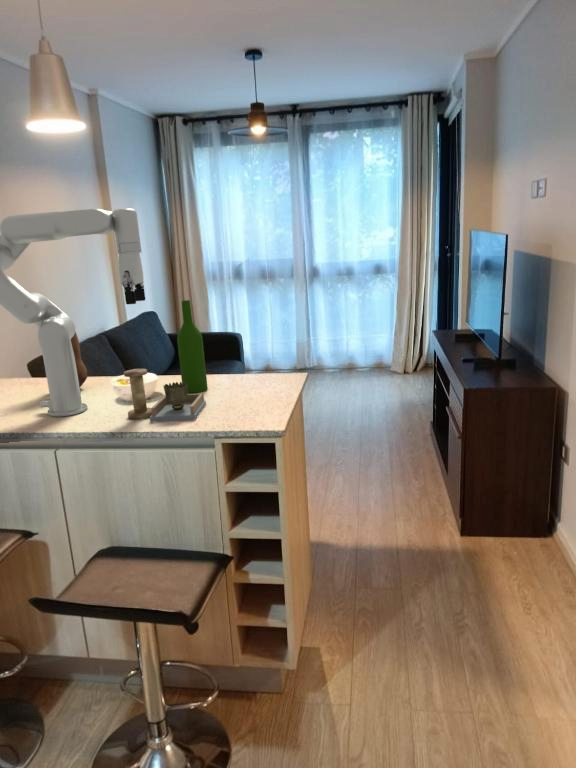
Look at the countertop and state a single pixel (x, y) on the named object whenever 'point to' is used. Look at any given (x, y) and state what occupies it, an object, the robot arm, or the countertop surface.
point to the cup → (176, 394)
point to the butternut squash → (78, 360)
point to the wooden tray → (189, 411)
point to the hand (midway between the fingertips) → (136, 302)
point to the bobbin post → (138, 394)
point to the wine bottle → (191, 353)
